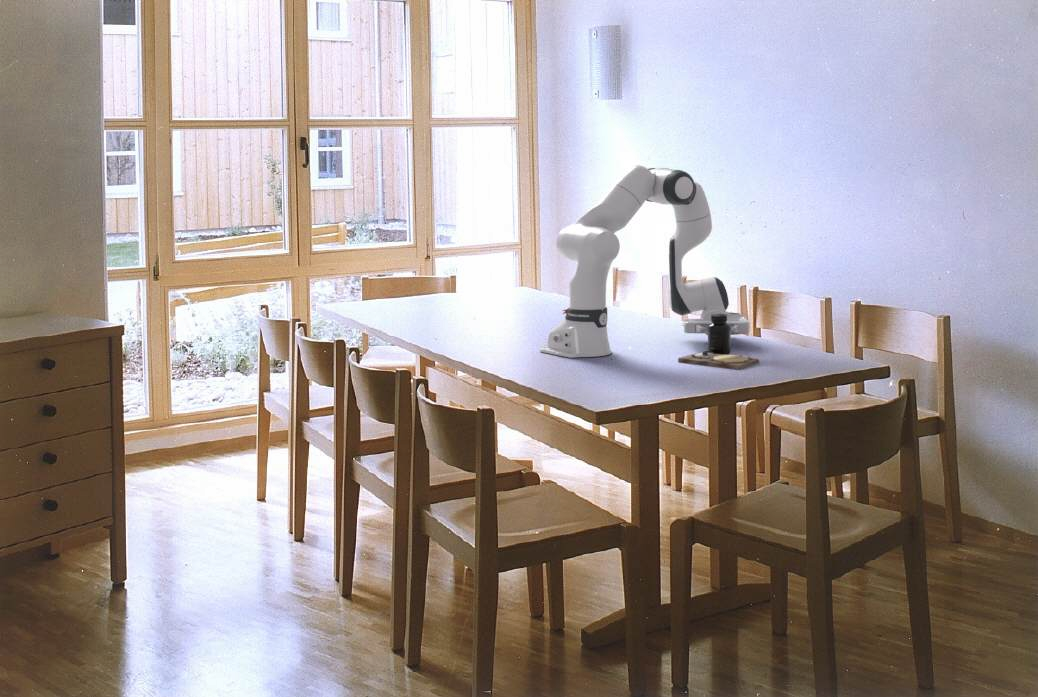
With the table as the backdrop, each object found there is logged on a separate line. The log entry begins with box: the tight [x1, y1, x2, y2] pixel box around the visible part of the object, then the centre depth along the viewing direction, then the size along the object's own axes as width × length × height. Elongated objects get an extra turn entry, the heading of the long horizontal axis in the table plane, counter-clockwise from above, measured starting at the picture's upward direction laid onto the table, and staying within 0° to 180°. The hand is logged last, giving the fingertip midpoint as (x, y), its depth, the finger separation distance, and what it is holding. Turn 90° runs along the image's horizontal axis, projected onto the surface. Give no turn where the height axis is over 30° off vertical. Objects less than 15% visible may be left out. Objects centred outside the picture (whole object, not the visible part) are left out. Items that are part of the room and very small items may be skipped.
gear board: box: [677, 349, 760, 371], centre depth 354 cm, size 20×12×3 cm, turn 50°
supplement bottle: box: [707, 314, 732, 355], centre depth 367 cm, size 7×7×12 cm
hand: (717, 330), depth 371 cm, fingers open, 8 cm apart
